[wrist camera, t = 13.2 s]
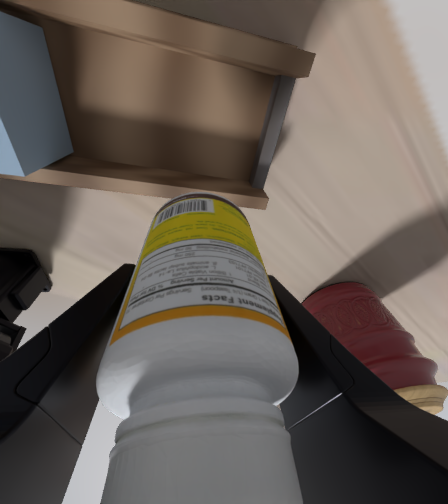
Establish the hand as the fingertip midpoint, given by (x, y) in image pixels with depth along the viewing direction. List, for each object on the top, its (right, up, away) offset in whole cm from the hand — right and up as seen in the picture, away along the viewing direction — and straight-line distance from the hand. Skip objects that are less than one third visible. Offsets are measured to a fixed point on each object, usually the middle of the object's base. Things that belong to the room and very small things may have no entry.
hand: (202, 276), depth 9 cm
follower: (-12, +12, +5) cm, 17 cm away
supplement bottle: (0, +2, +3) cm, 4 cm away
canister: (+20, -8, +26) cm, 34 cm away
